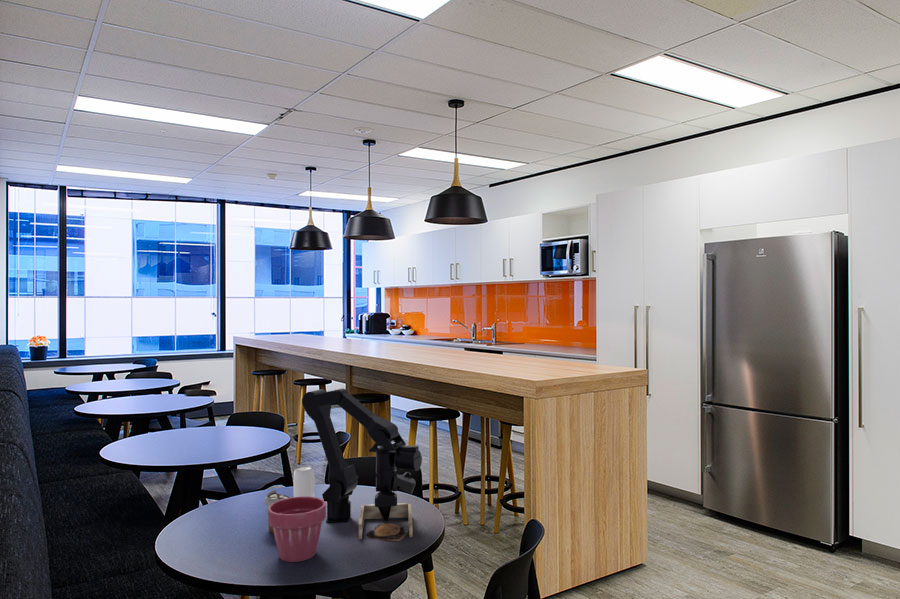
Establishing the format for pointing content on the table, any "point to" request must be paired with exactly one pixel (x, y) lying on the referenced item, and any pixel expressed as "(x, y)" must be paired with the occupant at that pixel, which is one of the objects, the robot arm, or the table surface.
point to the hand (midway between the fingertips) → (386, 521)
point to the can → (304, 481)
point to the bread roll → (387, 532)
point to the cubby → (396, 512)
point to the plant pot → (297, 526)
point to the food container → (271, 499)
